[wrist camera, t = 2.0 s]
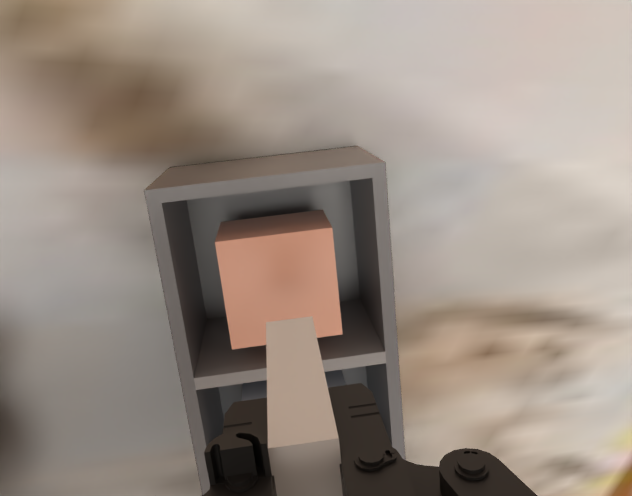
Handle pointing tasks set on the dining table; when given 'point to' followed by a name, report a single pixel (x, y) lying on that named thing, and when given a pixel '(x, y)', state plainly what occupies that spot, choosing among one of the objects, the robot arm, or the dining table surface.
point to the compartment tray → (206, 289)
